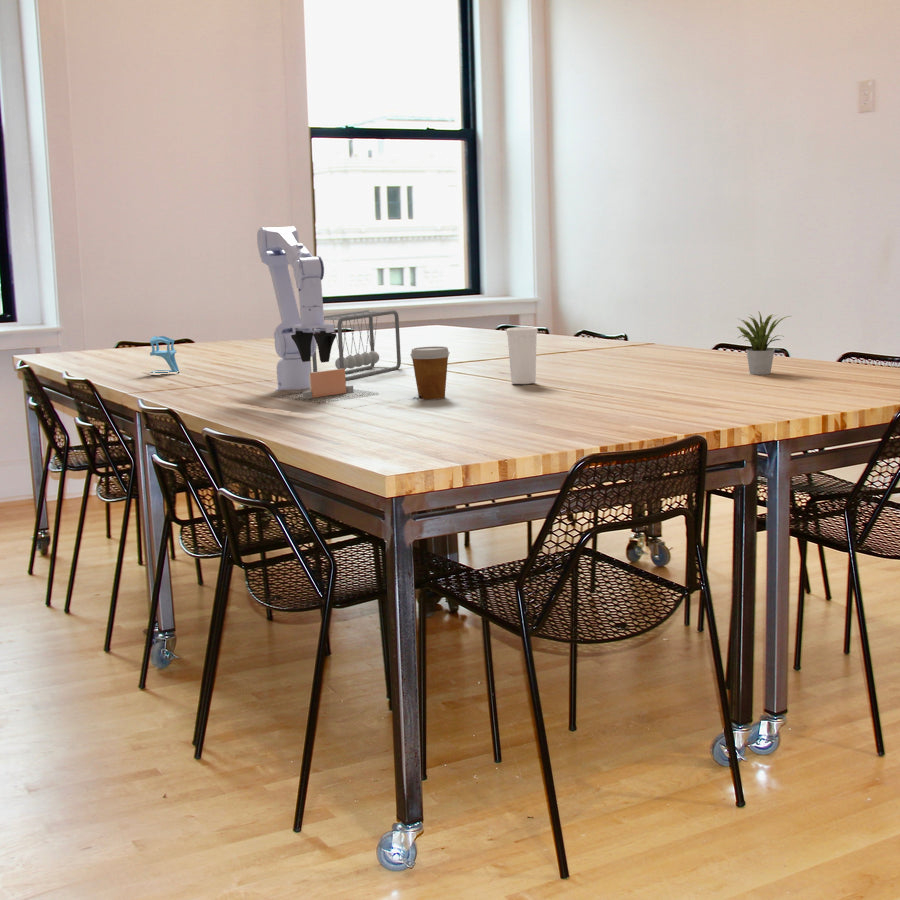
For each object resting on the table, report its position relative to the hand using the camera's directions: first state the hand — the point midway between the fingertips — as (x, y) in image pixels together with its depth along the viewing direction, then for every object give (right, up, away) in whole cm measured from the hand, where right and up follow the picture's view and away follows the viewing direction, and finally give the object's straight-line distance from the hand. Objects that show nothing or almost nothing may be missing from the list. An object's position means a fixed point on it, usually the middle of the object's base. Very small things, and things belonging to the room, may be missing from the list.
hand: (315, 361), depth 274 cm
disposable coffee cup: (+29, -9, -7) cm, 31 cm away
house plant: (+115, -2, +12) cm, 115 cm away
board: (+3, -9, -1) cm, 10 cm away
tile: (+4, -8, -2) cm, 10 cm away
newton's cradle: (+7, 0, +47) cm, 47 cm away
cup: (+52, -5, +11) cm, 54 cm away
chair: (-55, +2, +70) cm, 89 cm away
